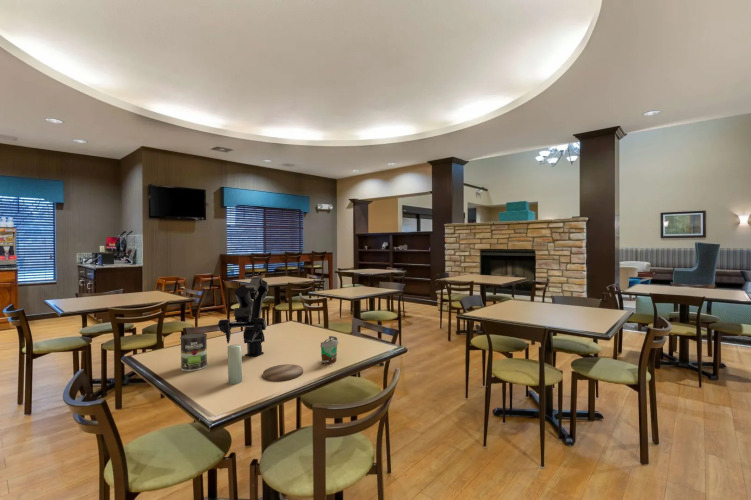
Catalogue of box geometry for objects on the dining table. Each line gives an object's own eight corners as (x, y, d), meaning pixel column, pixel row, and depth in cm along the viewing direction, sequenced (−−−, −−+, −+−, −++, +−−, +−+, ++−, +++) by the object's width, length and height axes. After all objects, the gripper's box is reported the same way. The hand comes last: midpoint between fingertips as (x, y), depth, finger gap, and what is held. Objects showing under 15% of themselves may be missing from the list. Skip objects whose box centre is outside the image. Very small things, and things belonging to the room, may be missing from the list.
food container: (334, 365, 157) (333, 343, 157) (320, 365, 158) (320, 342, 158) (342, 357, 169) (341, 336, 169) (329, 356, 170) (329, 335, 170)
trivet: (254, 377, 145) (254, 374, 145) (282, 365, 159) (281, 362, 159) (284, 383, 137) (284, 380, 137) (311, 370, 152) (310, 367, 152)
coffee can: (207, 368, 155) (207, 336, 155) (180, 373, 151) (180, 339, 150) (206, 362, 164) (206, 331, 164) (181, 366, 160) (180, 334, 160)
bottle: (225, 383, 139) (224, 347, 139) (235, 378, 143) (235, 343, 143) (234, 385, 137) (233, 348, 136) (244, 380, 141) (244, 345, 141)
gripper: (218, 300, 151) (210, 333, 141) (264, 299, 154) (260, 330, 143) (224, 315, 159) (217, 347, 148) (267, 314, 162) (264, 345, 151)
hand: (239, 342), depth 147 cm, fingers open, 9 cm apart
